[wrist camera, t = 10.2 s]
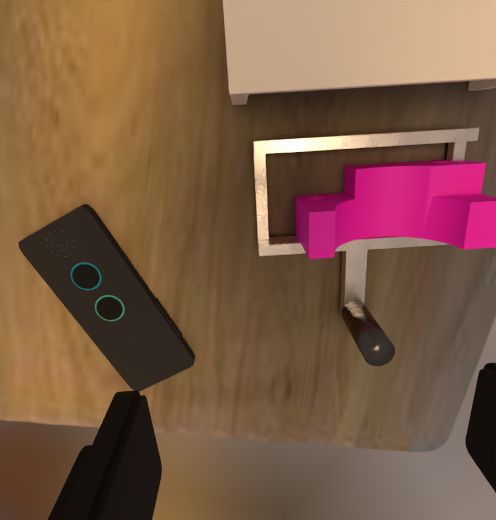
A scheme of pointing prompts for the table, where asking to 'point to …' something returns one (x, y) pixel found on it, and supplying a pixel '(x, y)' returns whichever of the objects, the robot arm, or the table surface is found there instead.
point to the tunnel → (357, 44)
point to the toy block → (400, 207)
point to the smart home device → (108, 298)
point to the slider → (354, 252)
